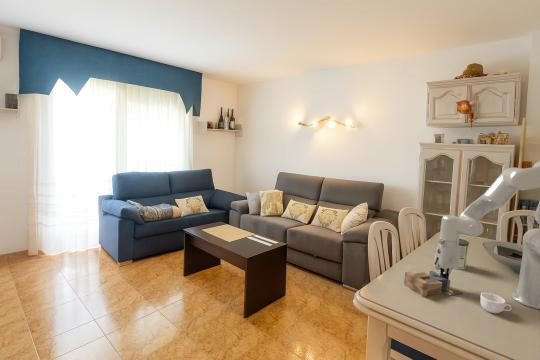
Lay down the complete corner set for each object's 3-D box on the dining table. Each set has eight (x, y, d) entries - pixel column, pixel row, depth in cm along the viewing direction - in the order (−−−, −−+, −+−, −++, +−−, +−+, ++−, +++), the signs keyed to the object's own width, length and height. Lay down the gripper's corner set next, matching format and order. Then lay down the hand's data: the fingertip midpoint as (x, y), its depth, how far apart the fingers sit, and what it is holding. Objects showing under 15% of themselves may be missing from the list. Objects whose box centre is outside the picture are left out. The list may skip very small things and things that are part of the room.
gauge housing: (462, 293, 128) (464, 281, 127) (425, 299, 123) (427, 285, 122) (438, 280, 141) (440, 268, 140) (404, 284, 135) (405, 272, 134)
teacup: (478, 310, 116) (480, 298, 115) (479, 302, 122) (481, 290, 121) (510, 320, 109) (512, 307, 109) (510, 311, 115) (512, 299, 115)
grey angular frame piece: (453, 293, 127) (454, 282, 126) (434, 296, 124) (436, 285, 124) (431, 280, 139) (432, 270, 138) (413, 282, 136) (414, 272, 135)
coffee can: (440, 260, 164) (443, 236, 163) (459, 262, 163) (462, 238, 162) (449, 268, 154) (452, 243, 152) (470, 270, 153) (473, 244, 151)
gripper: (442, 246, 126) (437, 286, 129) (469, 244, 130) (463, 283, 133) (428, 240, 134) (424, 278, 136) (454, 238, 137) (449, 275, 140)
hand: (443, 280), depth 134 cm, fingers closed
